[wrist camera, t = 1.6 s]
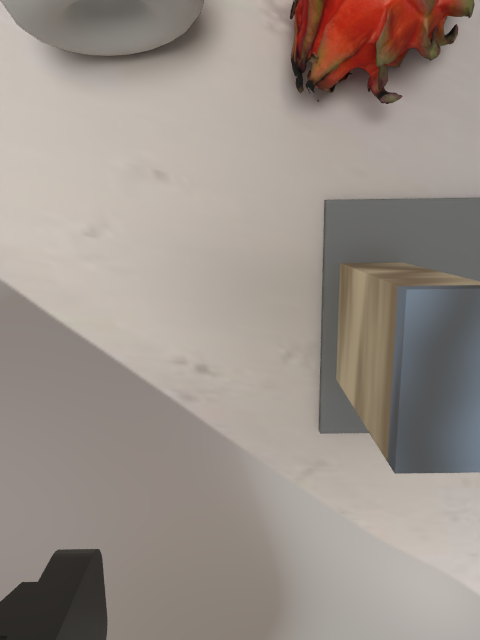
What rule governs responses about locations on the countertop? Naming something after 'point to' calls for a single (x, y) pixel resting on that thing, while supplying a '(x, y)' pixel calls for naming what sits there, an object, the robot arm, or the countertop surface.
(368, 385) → the maple block
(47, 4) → the donut
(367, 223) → the rubber mat
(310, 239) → the countertop surface
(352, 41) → the dragon fruit
